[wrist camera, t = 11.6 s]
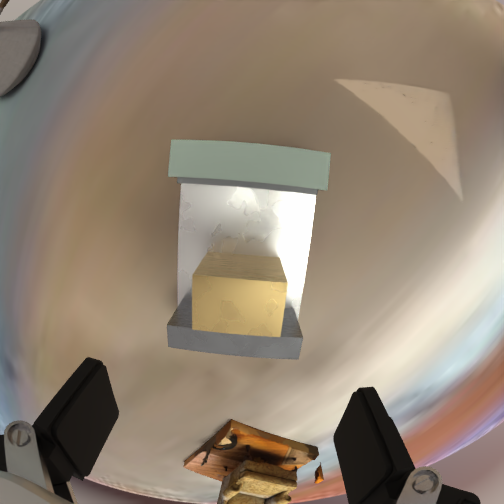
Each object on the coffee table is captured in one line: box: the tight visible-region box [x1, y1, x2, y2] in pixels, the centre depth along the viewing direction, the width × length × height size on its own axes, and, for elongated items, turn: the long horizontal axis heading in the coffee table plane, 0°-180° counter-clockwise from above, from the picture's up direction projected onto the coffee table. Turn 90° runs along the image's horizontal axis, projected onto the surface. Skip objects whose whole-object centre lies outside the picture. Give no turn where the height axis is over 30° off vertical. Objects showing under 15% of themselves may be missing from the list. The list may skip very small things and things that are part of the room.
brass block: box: [192, 252, 288, 337], centre depth 20 cm, size 4×6×6 cm, turn 85°
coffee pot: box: [0, 0, 41, 97], centre depth 10 cm, size 21×12×15 cm, turn 97°
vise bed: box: [167, 183, 316, 359], centre depth 20 cm, size 16×11×6 cm
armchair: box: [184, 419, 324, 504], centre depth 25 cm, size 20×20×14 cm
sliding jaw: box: [168, 140, 331, 195], centre depth 18 cm, size 3×10×5 cm, turn 85°
